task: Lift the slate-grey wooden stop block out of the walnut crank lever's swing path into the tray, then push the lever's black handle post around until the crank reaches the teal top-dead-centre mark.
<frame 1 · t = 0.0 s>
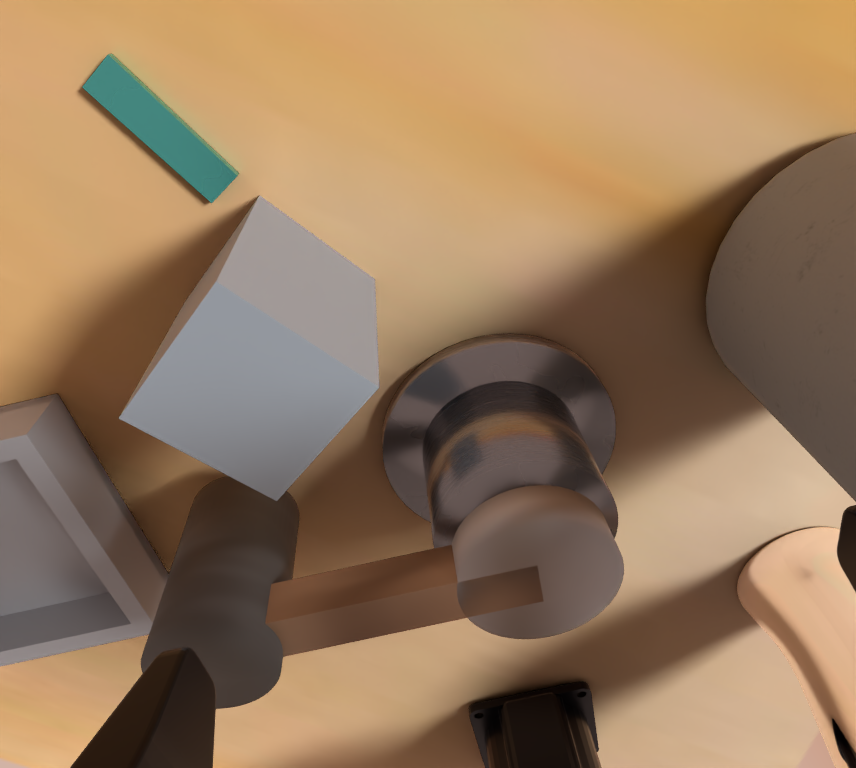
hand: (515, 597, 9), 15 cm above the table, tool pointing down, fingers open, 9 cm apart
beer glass: (795, 569, 32), on the table
stop block: (280, 289, 22), on the table
water bottle: (834, 264, 23), on the table
tray: (0, 525, 26), on the table
crank arm: (382, 549, 22), point 5 cm above the table, hinge at 0.0°
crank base: (496, 435, 26), on the table
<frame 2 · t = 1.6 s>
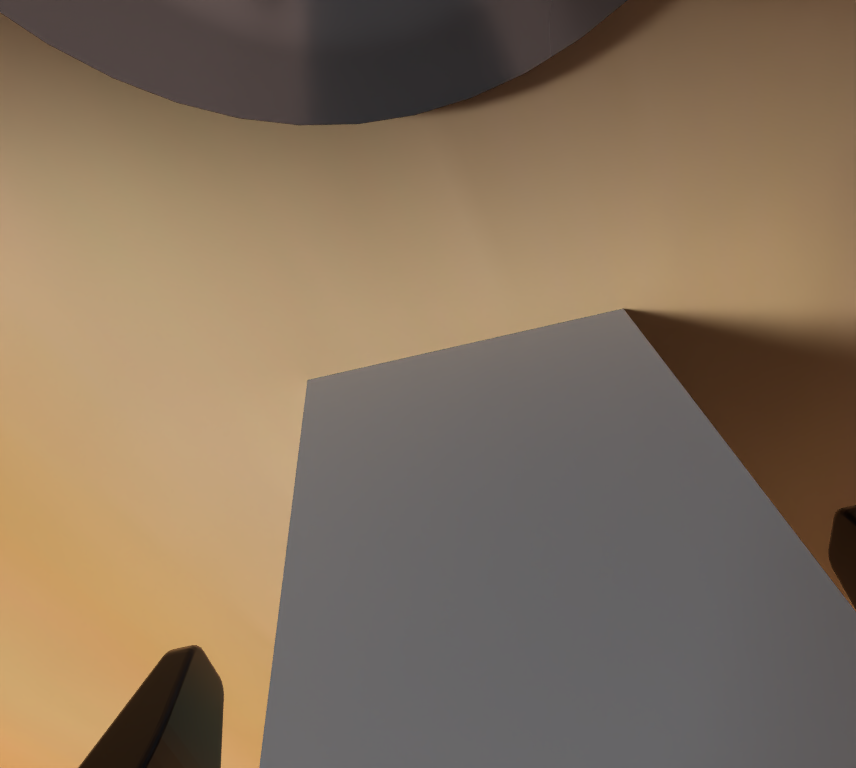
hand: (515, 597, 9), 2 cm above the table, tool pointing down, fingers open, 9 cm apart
stop block: (488, 464, 10), on the table
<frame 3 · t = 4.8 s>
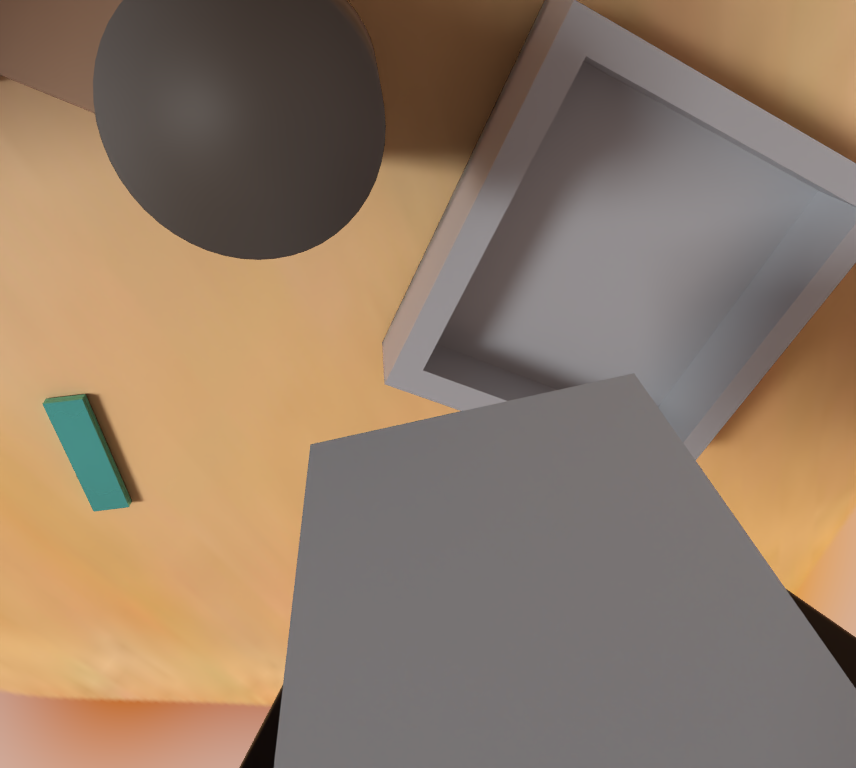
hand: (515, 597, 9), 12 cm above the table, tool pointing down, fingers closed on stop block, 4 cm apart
stop block: (495, 527, 10), point 11 cm above the table, touching gripper
tray: (605, 260, 19), on the table
when the fingers open (3 cm above the table, at t = 7.2 s): stop block drops 1 cm, resting on tray.
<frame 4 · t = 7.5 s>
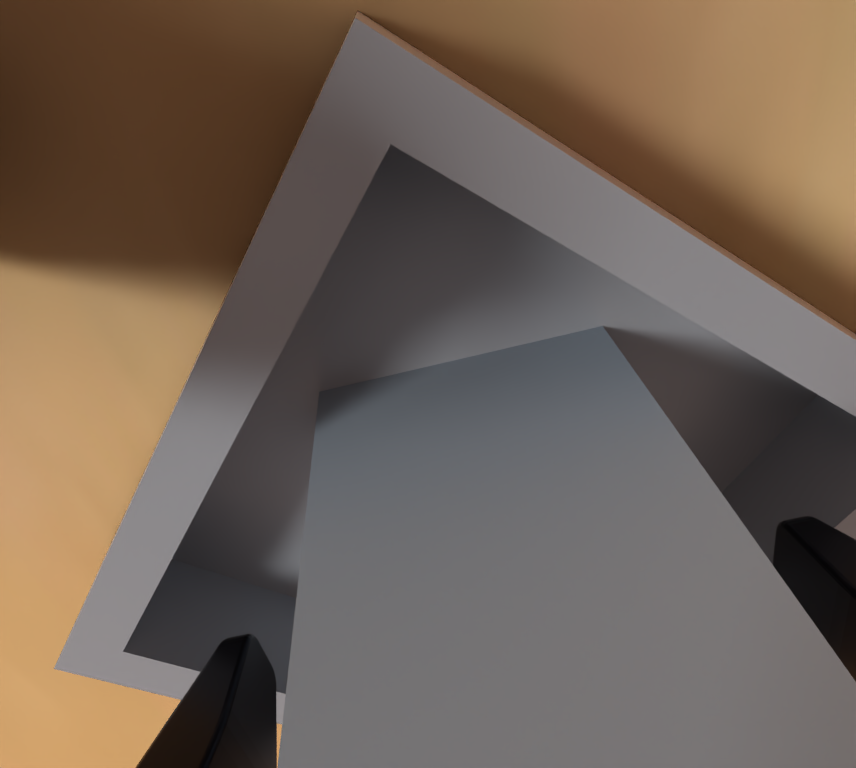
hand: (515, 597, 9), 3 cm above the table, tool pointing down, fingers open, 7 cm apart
stop block: (483, 469, 11), resting on tray
tray: (479, 453, 12), on the table
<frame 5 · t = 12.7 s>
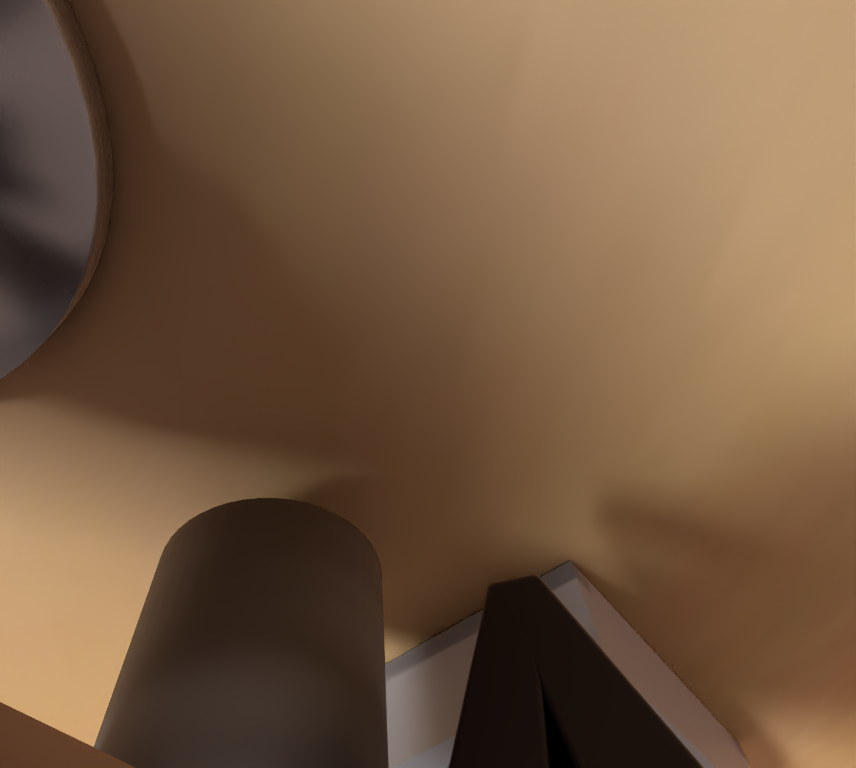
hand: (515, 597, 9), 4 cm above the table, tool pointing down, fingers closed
tray: (504, 745, 18), on the table
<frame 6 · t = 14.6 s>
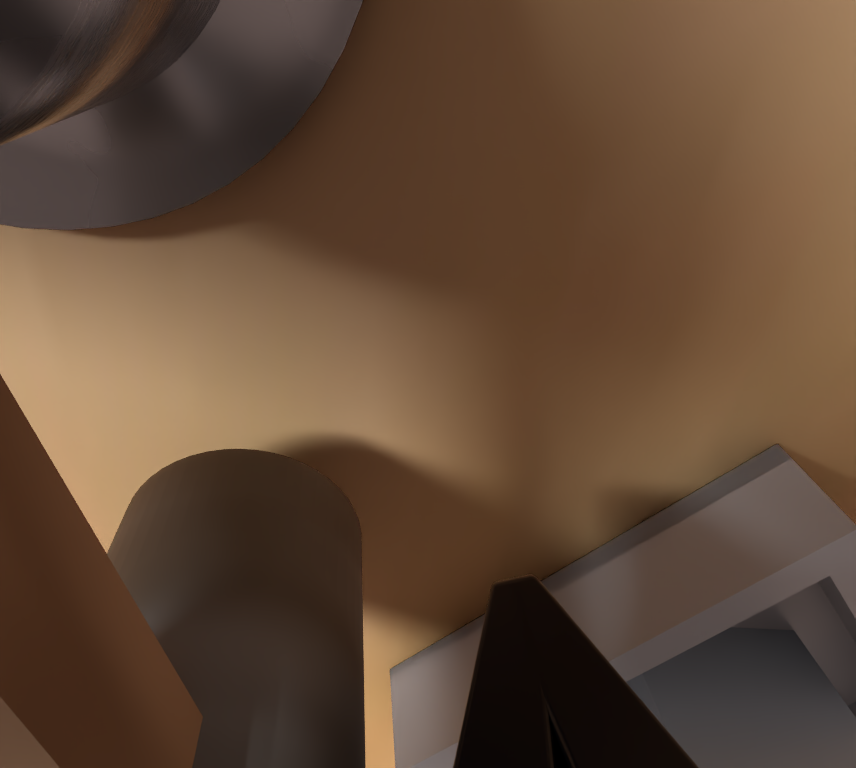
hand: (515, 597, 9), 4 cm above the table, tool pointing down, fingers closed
stop block: (674, 687, 16), resting on tray
tray: (665, 670, 17), on the table
crank arm: (10, 378, 6), point 5 cm above the table, hinge at -27.0°, touching gripper
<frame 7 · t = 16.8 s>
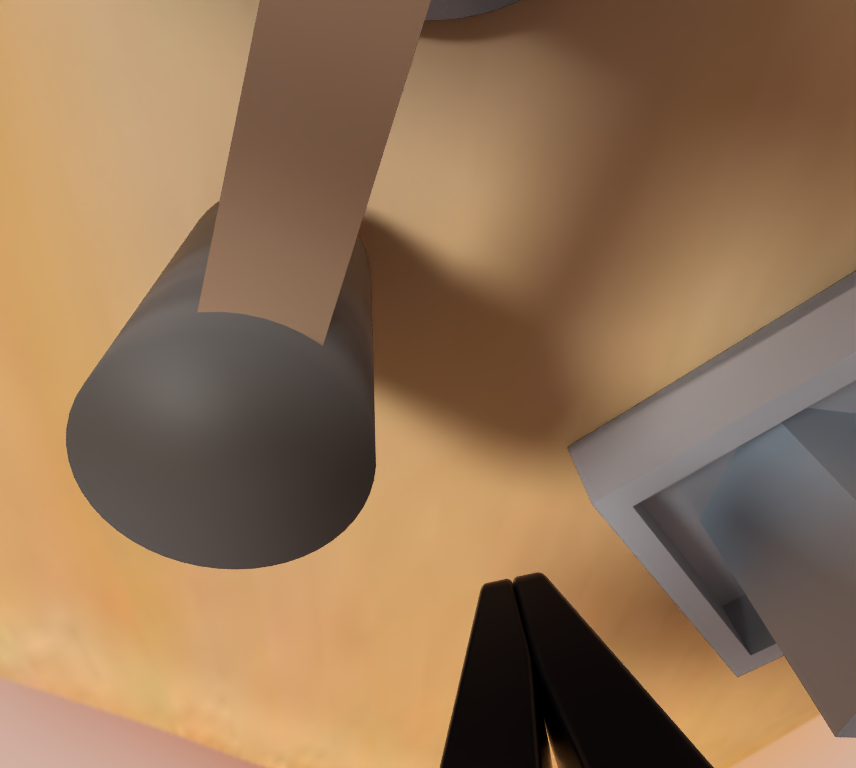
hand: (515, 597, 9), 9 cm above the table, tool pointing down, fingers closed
stop block: (795, 471, 20), resting on tray
tray: (785, 462, 20), on the table
crank arm: (342, 30, 9), point 5 cm above the table, hinge at -56.7°
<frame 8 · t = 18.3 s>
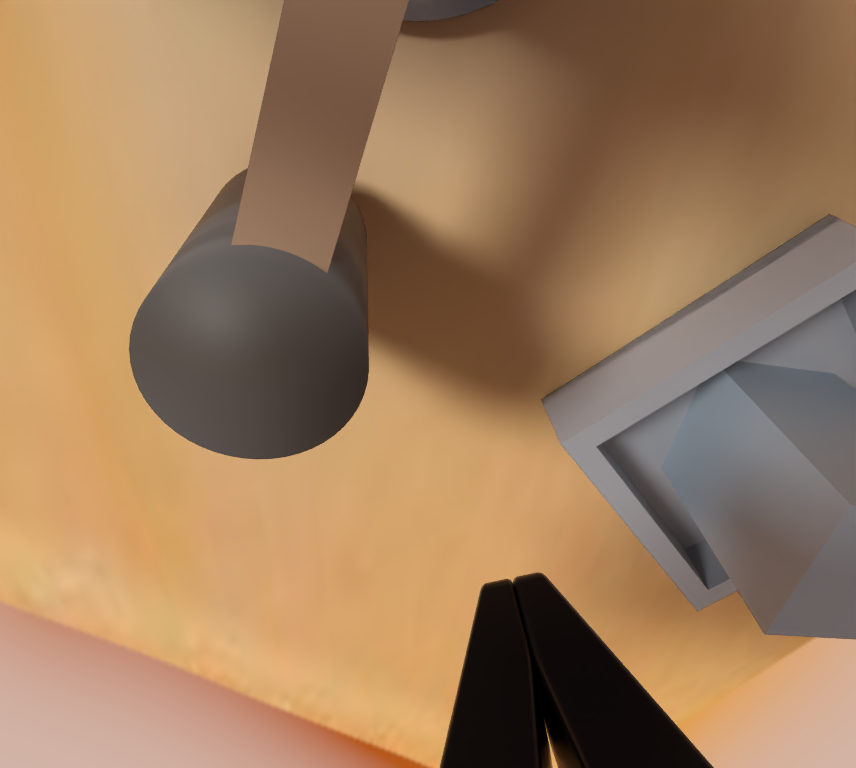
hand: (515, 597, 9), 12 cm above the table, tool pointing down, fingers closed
stop block: (745, 422, 22), resting on tray
tray: (737, 414, 23), on the table
crank arm: (342, 29, 12), point 5 cm above the table, hinge at -56.7°
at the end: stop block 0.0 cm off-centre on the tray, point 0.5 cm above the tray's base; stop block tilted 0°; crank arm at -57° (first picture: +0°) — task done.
